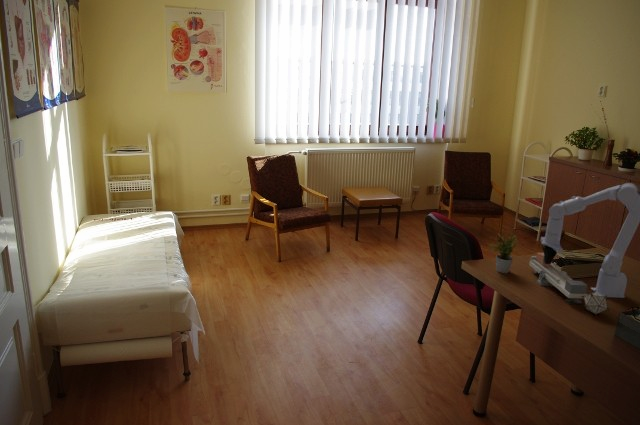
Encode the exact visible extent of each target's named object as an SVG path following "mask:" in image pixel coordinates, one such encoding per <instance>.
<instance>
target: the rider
mask: <svg viewBox="0 0 640 425" xmlns="http://www.w3.org/2000/svg"><path fill="white" fill-rule="evenodd" d="M535 256H536V261H537V262H538V263H540V264H541V265H542V266H543V267H550V264H546V263H545V258H544V252H536V255H535Z"/></svg>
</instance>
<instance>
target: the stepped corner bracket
mask: <svg viewBox="0 0 640 425" xmlns="http://www.w3.org/2000/svg"><path fill="white" fill-rule="evenodd" d="M533 269H534V268H533ZM561 271H562V272H563V273H565V274H566V275H567V276H568V272H566V271H564V270H561ZM533 272H534V273H535V274H537V275H538V274H539V273H538V272H537V271H536V270H535V269H534V270H533ZM544 277H545V272H544V271H540V274H539V275H538V279H536V283H537V284H538V285H539V286H540V287H541V286H546V287H548V286H549V287H552V286H553V287H555V286H554V285H553V284H551V283H550V282H549V281H548V280H547V279H545V278H544ZM564 299H565V300H564V302H566V303H567V302H568V303H567V304H568V305H581V306H582V305H583V302H582V301H581V300H580V299H579V298H564Z"/></svg>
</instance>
